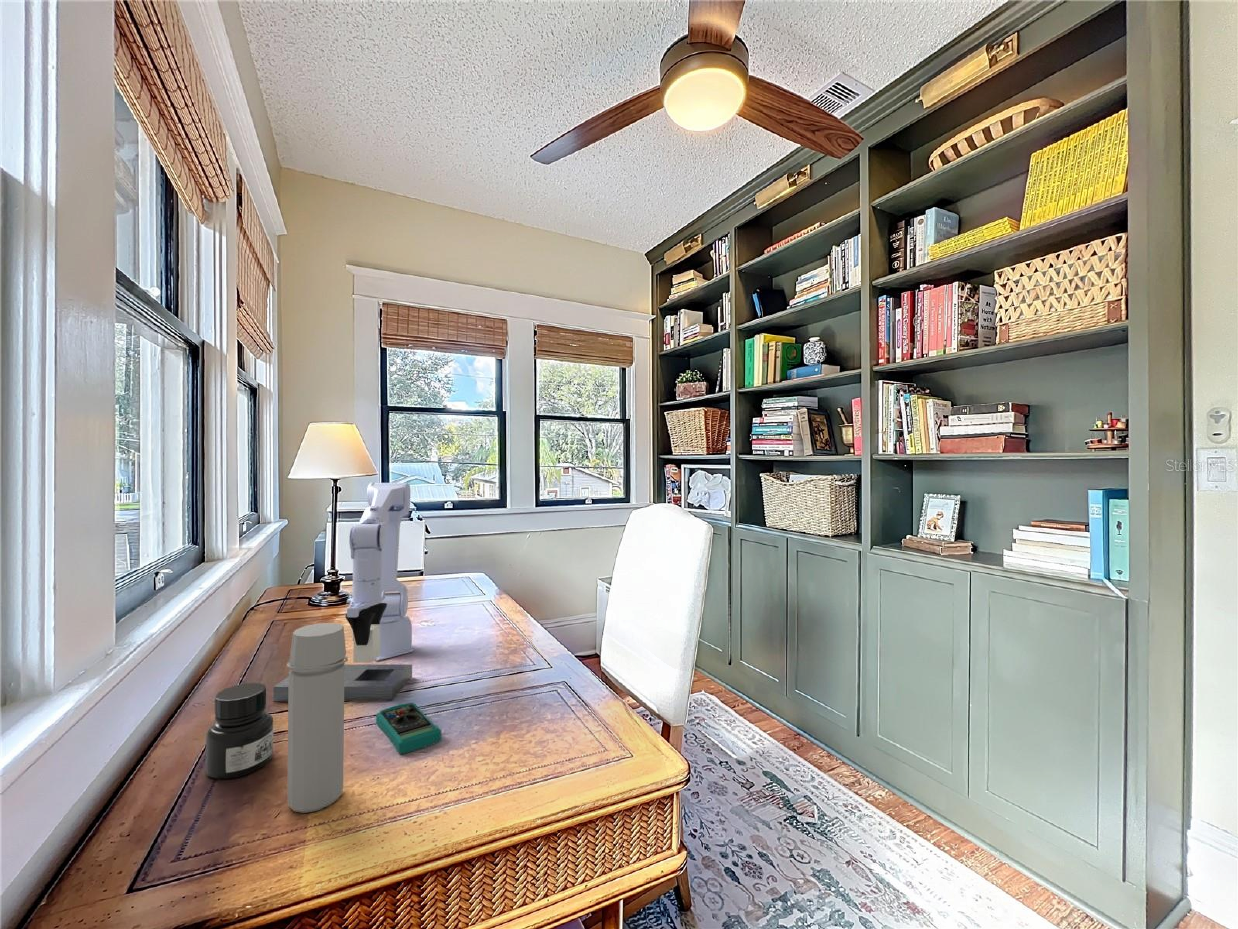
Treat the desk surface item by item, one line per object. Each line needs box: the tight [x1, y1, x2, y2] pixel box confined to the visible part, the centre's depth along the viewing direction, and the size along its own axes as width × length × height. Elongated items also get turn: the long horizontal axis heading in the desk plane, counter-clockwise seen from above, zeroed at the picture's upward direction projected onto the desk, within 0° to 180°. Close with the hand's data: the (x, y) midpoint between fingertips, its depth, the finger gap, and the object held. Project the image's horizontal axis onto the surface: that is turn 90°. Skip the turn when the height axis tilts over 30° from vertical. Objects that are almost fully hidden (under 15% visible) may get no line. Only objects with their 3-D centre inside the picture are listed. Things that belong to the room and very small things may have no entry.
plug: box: [352, 624, 380, 664], centre depth 116 cm, size 5×4×7 cm
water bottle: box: [286, 622, 349, 814], centre depth 79 cm, size 9×8×25 cm
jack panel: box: [273, 663, 413, 702], centre depth 116 cm, size 24×12×3 cm, turn 92°
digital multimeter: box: [375, 702, 442, 755], centre depth 98 cm, size 7×15×3 cm, turn 40°
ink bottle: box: [205, 682, 274, 780], centre depth 87 cm, size 10×9×12 cm
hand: (366, 641), depth 116 cm, fingers closed on plug, 4 cm apart
